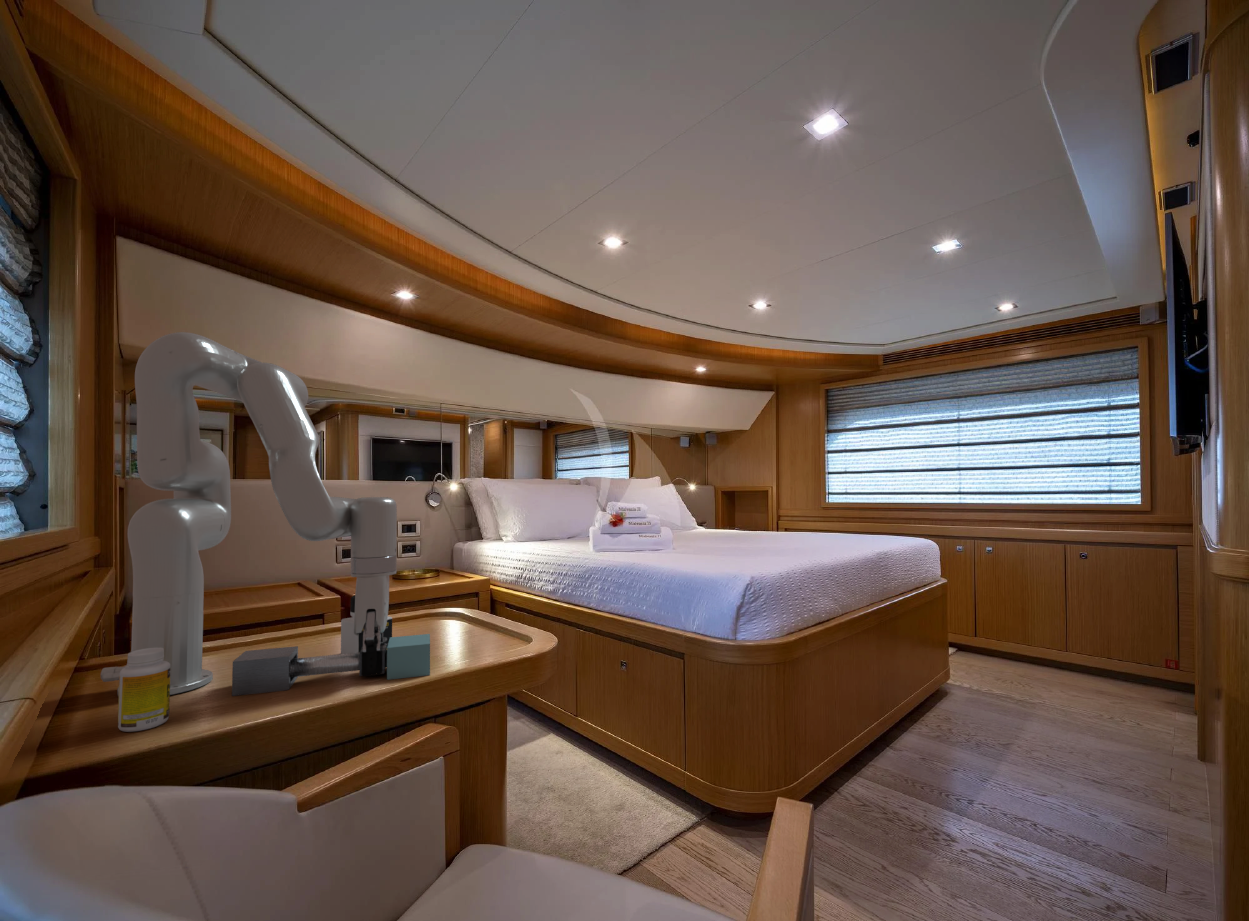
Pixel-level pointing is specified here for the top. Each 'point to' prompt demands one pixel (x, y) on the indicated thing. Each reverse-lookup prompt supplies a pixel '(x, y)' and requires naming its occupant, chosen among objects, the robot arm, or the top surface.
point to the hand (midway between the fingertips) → (373, 669)
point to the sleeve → (263, 671)
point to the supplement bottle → (144, 690)
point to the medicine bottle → (355, 643)
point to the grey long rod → (332, 664)
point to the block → (408, 656)
